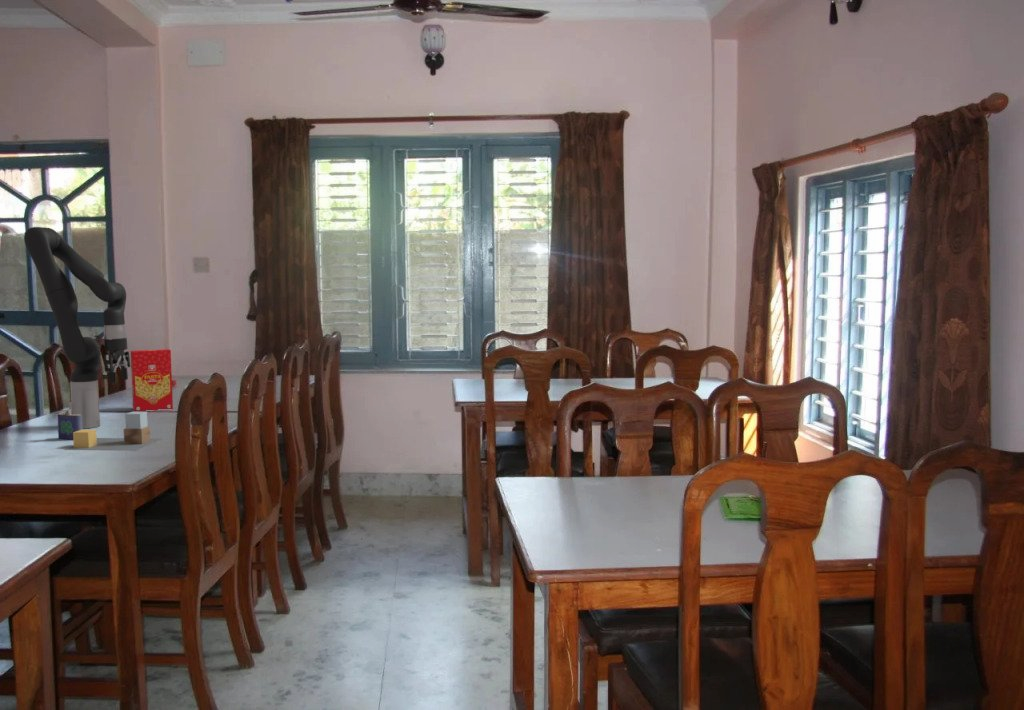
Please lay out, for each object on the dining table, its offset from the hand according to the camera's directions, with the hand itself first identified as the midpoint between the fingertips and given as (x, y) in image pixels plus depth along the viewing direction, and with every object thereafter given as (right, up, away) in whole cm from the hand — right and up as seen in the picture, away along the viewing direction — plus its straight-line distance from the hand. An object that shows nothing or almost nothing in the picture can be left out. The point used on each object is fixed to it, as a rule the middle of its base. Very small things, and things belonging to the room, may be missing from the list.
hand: (118, 381), depth 321 cm
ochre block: (+5, -20, -35) cm, 41 cm away
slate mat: (+13, -20, -31) cm, 39 cm away
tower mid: (+19, -15, -29) cm, 38 cm away
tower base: (+19, -20, -29) cm, 40 cm away
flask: (-7, -20, -22) cm, 31 cm away
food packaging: (-4, -14, +41) cm, 44 cm away
